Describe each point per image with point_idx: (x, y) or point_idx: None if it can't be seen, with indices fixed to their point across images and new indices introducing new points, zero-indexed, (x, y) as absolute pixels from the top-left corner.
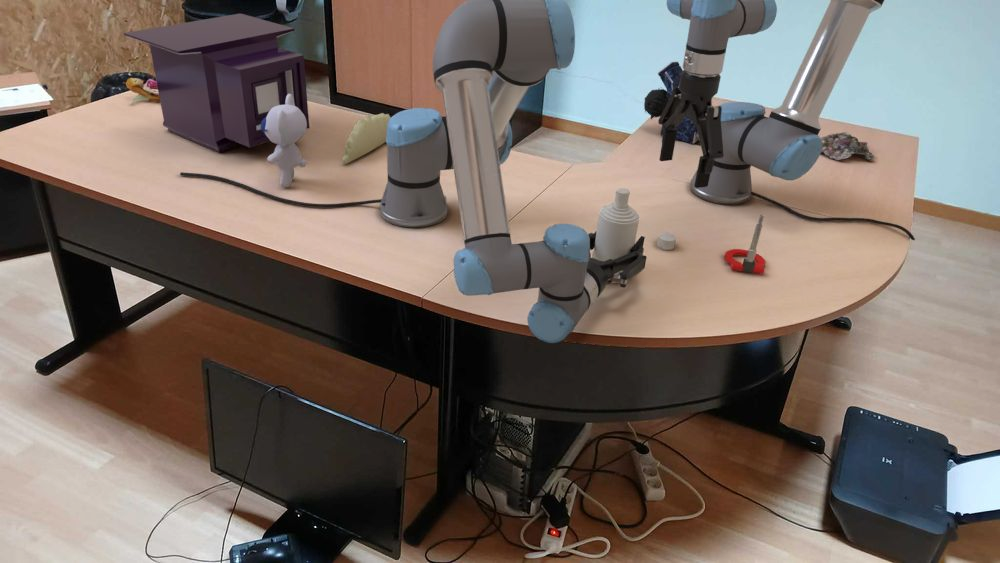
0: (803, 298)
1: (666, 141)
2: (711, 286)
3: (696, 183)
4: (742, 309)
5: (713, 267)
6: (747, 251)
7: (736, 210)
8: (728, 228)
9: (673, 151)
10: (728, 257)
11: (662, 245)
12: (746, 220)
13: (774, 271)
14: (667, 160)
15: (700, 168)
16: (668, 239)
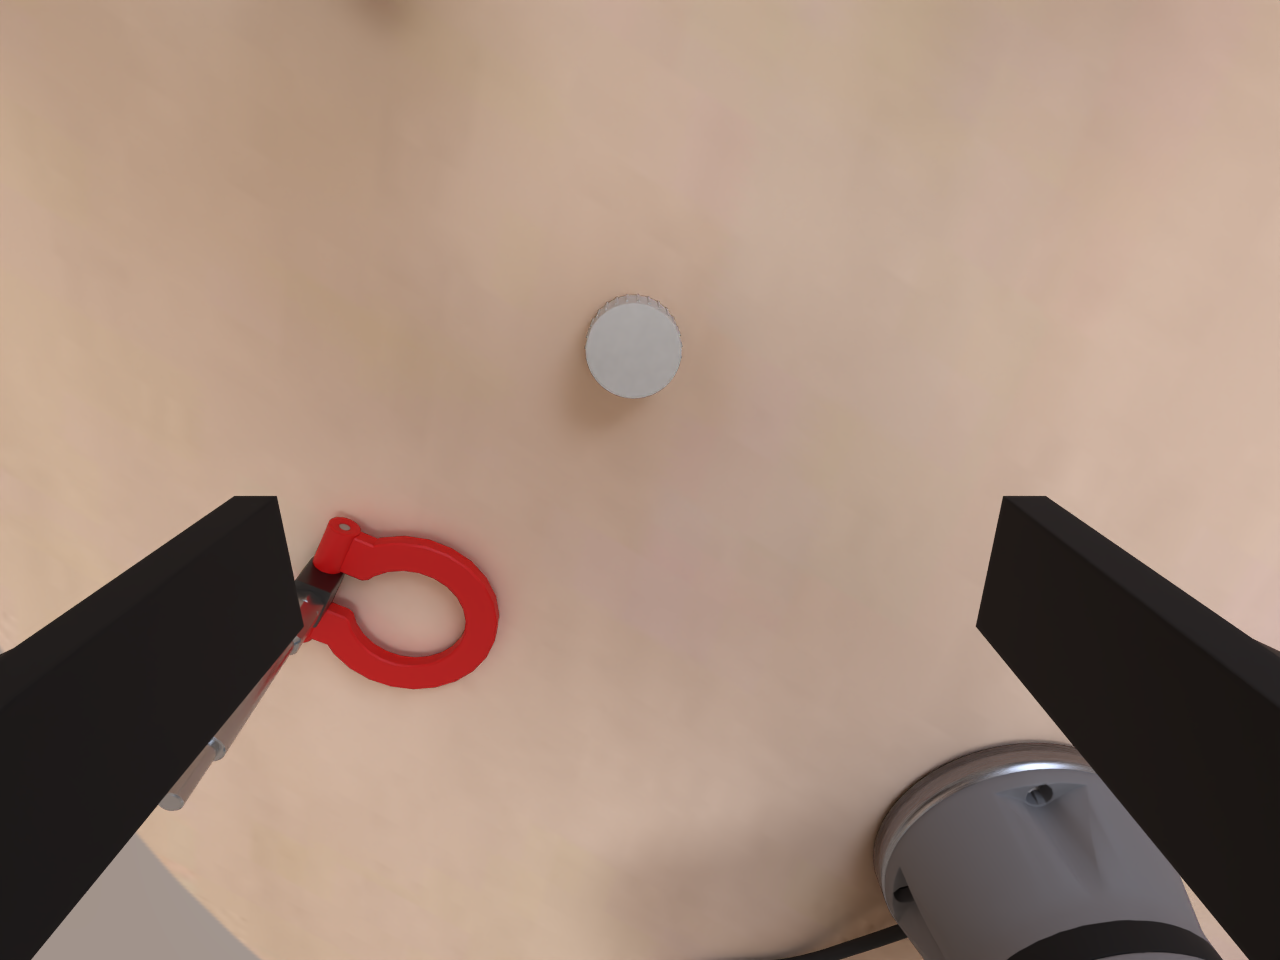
0: None
1: (1185, 681)
2: (218, 347)
3: (217, 517)
4: (12, 373)
5: (390, 457)
6: (465, 661)
7: (835, 814)
8: (706, 707)
9: (1032, 694)
10: (417, 554)
11: (607, 304)
12: (745, 803)
13: (329, 676)
14: (987, 575)
15: (33, 638)
16: (602, 340)
